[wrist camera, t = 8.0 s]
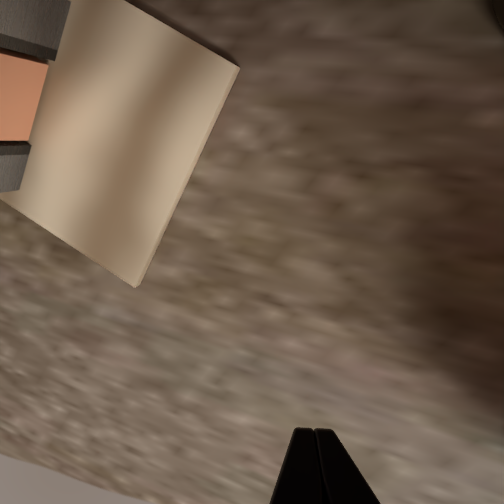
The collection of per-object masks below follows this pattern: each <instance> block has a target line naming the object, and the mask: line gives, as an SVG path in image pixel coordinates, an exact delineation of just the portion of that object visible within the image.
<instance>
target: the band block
mask: <svg viewBox="0 0 504 504" xmlns="http://www.w3.org/2000/svg"><path fill="white" fill-rule="evenodd" d="M70 5H71V2H70V1H69V0H0V47H2V48H6V49H10V50H14V51H18V52H21V53H25V54H29V55H33V56H37V57H41V58H44V59H48V60H52V61H55V59H56V56H57V52H58V48H59V45H60V41H61V38H62V34H63V30H64V27H65V23H66V19H67V16H68V12H69V9H70ZM31 146H32V145H30V144H29V143H27V142H25V141H0V193H3V192H10V191H17V190H20V186H21V182H22V179H23V175H24V171H25V168H26V164H27V161H28V157H29V153H30V150H31Z"/></svg>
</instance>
